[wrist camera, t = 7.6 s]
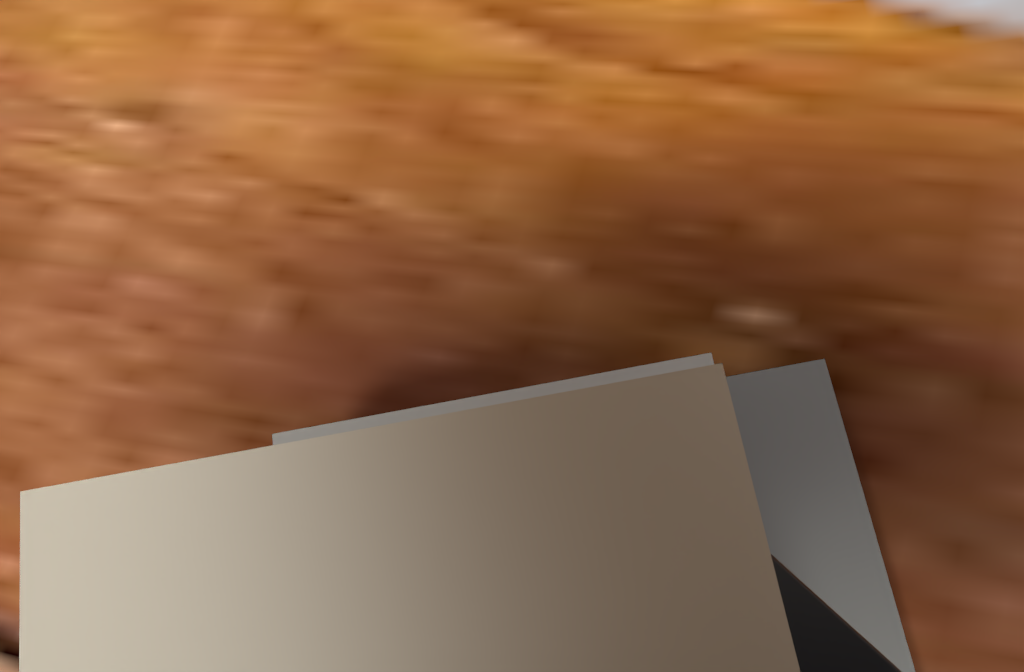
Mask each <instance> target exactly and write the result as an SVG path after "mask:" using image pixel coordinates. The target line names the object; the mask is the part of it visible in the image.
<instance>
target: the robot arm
mask: <svg viewBox="0 0 1024 672" xmlns="http://www.w3.org/2000/svg"><path fill="white" fill-rule="evenodd" d="M771 557H772V561H773V565H774V569H775V573H776V577H777V581H778V585H779V589H780V593H781V597H782V601H783V605H784V609H785V613H786V617H787V621H788V625H789V628H790V632H791V636H792V640H793V644H794V648H795V652H796V656H797V660H798V664H799V668H800V672H902V671H901V670H900V669H898V668H897V667H896V666H895V665H894V664H893V663H892V662H891V661H890V660H888V659H887V658H886V657H885V656H884V655H883V654H882V653H881V652H880V651H878V650H877V649H876V648H875V647H874V646H873V645H872V644H871V643H869V642H868V641H867V640H866V639H865V638H864V637H863V636H862V635H861V634H859V633H858V632H857V631H856V630H855V629H854V628H853V627H852V626H851V625H849V624H848V623H847V622H846V621H845V620H844V619H843V618H842V617H841V616H839V615H838V614H837V613H836V612H835V611H834V610H833V609H832V608H831V607H829V606H828V605H827V604H826V603H825V602H824V601H823V600H822V599H821V598H819V597H818V596H817V595H816V594H815V593H814V592H813V591H812V590H811V589H809V588H808V587H807V586H806V585H805V584H804V583H803V582H802V581H801V580H799V579H798V578H797V577H796V576H795V575H794V574H793V573H792V572H791V571H789V570H788V569H787V568H786V567H785V566H784V565H783V564H782V563H781V562H779V561H778V560H777V559H776V558H775V557H774V556H773V555H772V554H771Z"/></svg>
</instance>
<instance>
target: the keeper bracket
mask: <svg viewBox="0 0 1024 672" xmlns="http://www.w3.org/2000/svg"><path fill="white" fill-rule="evenodd" d="M708 365H714V361H713V357H712V353H706V354H701V355H695V356H690V357H685V358H679V359H674V360H668V361H663V362H658V363H652V364H647V365H641V366H636V367H631V368H625V369H620V370H614V371H609V372H604V373H598V374H593V375H588V376H582V377H577V378H571V379H566V380H561V381H555V382H550V383H544V384H539V385H534V386H528V387H523V388H518V389H512V390H507V391H501V392H496V393H491V394H485V395H480V396H474V397H469V398H464V399H458V400H453V401H447V402H442V403H437V404H431V405H426V406H421V407H415V408H410V409H404V410H399V411H394V412H388V413H383V414H377V415H372V416H367V417H361V418H356V419H350V420H345V421H340V422H334V423H329V424H324V425H318V426H313V427H307V428H302V429H297V430H291V431H286V432H280V433H275V434H272V439H273V445H277V444H283V443H288V442H294V441H299V440H305V439H310V438H316V437H321V436H326V435H332V434H337V433H343V432H348V431H354V430H359V429H365V428H370V427H376V426H381V425H386V424H392V423H397V422H403V421H408V420H414V419H419V418H425V417H430V416H436V415H441V414H446V413H452V412H457V411H463V410H468V409H474V408H479V407H485V406H490V405H495V404H501V403H506V402H512V401H517V400H523V399H528V398H534V397H539V396H545V395H550V394H555V393H561V392H566V391H572V390H577V389H583V388H588V387H594V386H599V385H605V384H610V383H615V382H621V381H626V380H632V379H637V378H643V377H648V376H654V375H659V374H664V373H670V372H675V371H681V370H686V369H692V368H697V367H703V366H708ZM726 380H727V384H728V387H729V391H730V395H731V399H732V403H733V407H734V411H735V415H736V419H737V423H738V427H739V431H740V435H741V439H742V443H743V447H744V451H745V455H746V459H747V463H748V466H749V470H750V474H751V478H752V482H753V486H754V490H755V494H756V498H757V502H758V506H759V510H760V514H761V518H762V522H763V526H764V530H765V534H766V538H767V542H768V545H769V549H770V553H771V554H772V555H773V556H774V557H775V558H776V559H777V560H778V561H779V562H781V563H782V564H783V565H784V566H785V567H786V568H787V569H788V570H789V571H791V572H792V573H793V574H794V575H795V576H796V577H797V578H798V579H799V580H801V581H802V582H803V583H804V584H805V585H806V586H807V587H808V588H809V589H811V590H812V591H813V592H814V593H815V594H816V595H817V596H818V597H819V598H821V599H822V600H823V601H824V602H825V603H826V604H827V605H828V606H829V607H831V608H832V609H833V610H834V611H835V612H836V613H837V614H838V615H839V616H841V617H842V618H843V619H844V620H845V621H846V622H847V623H848V624H849V625H851V626H852V627H853V628H854V629H855V630H856V631H857V632H858V633H859V634H861V635H862V636H863V637H864V638H865V639H866V640H867V641H868V642H869V643H871V644H872V645H873V646H874V647H875V648H876V649H877V650H878V651H880V652H881V653H882V654H883V655H884V656H885V657H886V658H887V659H888V660H890V661H891V662H892V663H893V664H894V665H895V666H896V667H897V668H898V669H900V670H901V671H902V672H915V669H914V665H913V662H912V658H911V655H910V651H909V648H908V644H907V641H906V638H905V634H904V631H903V627H902V624H901V620H900V617H899V613H898V610H897V607H896V603H895V600H894V596H893V593H892V589H891V586H890V582H889V579H888V576H887V572H886V569H885V565H884V562H883V558H882V555H881V551H880V548H879V544H878V541H877V538H876V534H875V531H874V527H873V524H872V520H871V517H870V513H869V510H868V507H867V503H866V500H865V496H864V493H863V489H862V486H861V482H860V479H859V476H858V472H857V469H856V465H855V462H854V458H853V455H852V451H851V448H850V445H849V441H848V438H847V434H846V431H845V427H844V424H843V420H842V417H841V414H840V410H839V407H838V403H837V400H836V396H835V393H834V389H833V386H832V383H831V379H830V376H829V372H828V369H827V365H826V362H825V359H820V360H815V361H809V362H804V363H798V364H793V365H788V366H782V367H777V368H771V369H766V370H760V371H755V372H750V373H744V374H739V375H733V376H728V377H726Z"/></svg>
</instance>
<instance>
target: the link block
mask: <svg viewBox="0 0 1024 672" xmlns="http://www.w3.org/2000/svg"><path fill="white" fill-rule="evenodd" d="M19 672H800V668H799V664H798V660H797V656H796V652H795V648H794V644H793V640H792V636H791V632H790V628H789V625H788V621H787V617H786V613H785V609H784V605H783V601H782V597H781V593H780V589H779V585H778V581H777V577H776V573H775V569H774V565H773V561H772V557H771V553H770V549H769V545H768V542H767V538H766V534H765V530H764V526H763V522H762V518H761V514H760V510H759V506H758V502H757V498H756V494H755V490H754V486H753V482H752V478H751V474H750V470H749V466H748V463H747V459H746V455H745V451H744V447H743V443H742V439H741V435H740V431H739V427H738V423H737V419H736V415H735V411H734V407H733V403H732V399H731V395H730V391H729V387H728V384H727V380H726V376H725V372H724V368H723V364H722V363H719V364H714V365H708V366H703V367H697V368H692V369H686V370H681V371H675V372H670V373H664V374H659V375H654V376H648V377H643V378H637V379H632V380H626V381H621V382H615V383H610V384H605V385H599V386H594V387H588V388H583V389H577V390H572V391H566V392H561V393H555V394H550V395H545V396H539V397H534V398H528V399H523V400H517V401H512V402H506V403H501V404H495V405H490V406H485V407H479V408H474V409H468V410H463V411H457V412H452V413H446V414H441V415H436V416H430V417H425V418H419V419H414V420H408V421H403V422H397V423H392V424H386V425H381V426H376V427H370V428H365V429H359V430H354V431H348V432H343V433H337V434H332V435H326V436H321V437H316V438H310V439H305V440H299V441H294V442H288V443H283V444H277V445H272V446H267V447H261V448H256V449H250V450H245V451H239V452H234V453H228V454H223V455H217V456H212V457H207V458H201V459H196V460H190V461H185V462H179V463H174V464H168V465H163V466H157V467H152V468H147V469H141V470H136V471H130V472H125V473H119V474H114V475H108V476H103V477H98V478H92V479H87V480H81V481H76V482H70V483H65V484H59V485H54V486H48V487H43V488H38V489H32V490H27V491H21V492H20V643H19Z"/></svg>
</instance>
